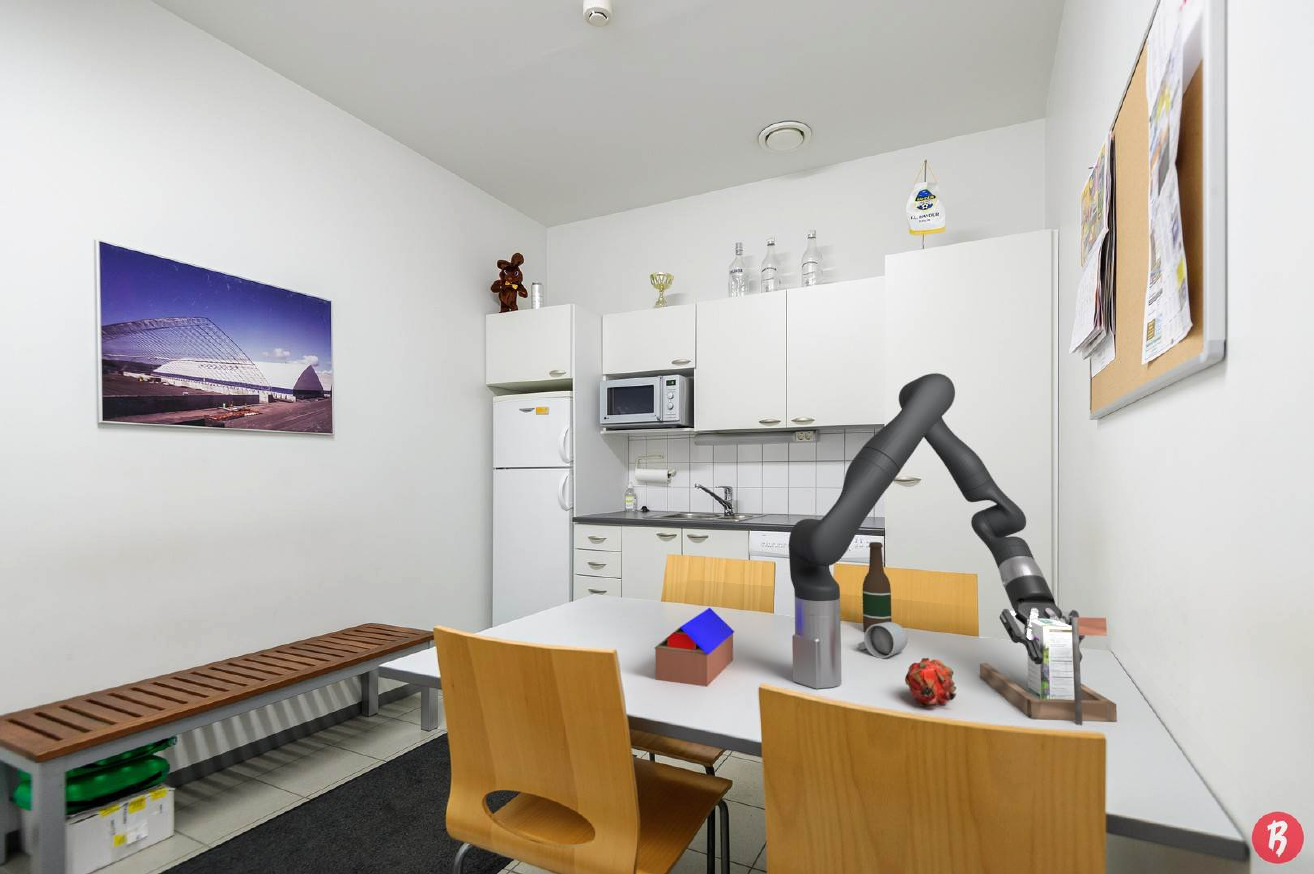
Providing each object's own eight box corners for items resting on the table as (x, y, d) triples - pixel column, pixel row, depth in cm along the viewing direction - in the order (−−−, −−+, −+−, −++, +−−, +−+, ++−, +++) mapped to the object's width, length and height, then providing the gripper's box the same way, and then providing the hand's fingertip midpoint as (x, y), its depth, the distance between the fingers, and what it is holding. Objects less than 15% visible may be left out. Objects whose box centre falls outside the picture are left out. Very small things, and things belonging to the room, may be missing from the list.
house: (653, 680, 132) (653, 624, 132) (686, 654, 150) (685, 605, 151) (708, 688, 127) (707, 629, 128) (734, 660, 145) (734, 609, 146)
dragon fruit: (939, 700, 124) (932, 731, 113) (900, 670, 127) (890, 697, 116) (966, 670, 121) (961, 699, 110) (926, 640, 124) (918, 666, 113)
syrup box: (1027, 695, 120) (1024, 617, 120) (1058, 695, 119) (1055, 617, 120) (1044, 706, 114) (1041, 625, 115) (1077, 706, 114) (1074, 625, 114)
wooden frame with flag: (980, 677, 132) (977, 591, 133) (1050, 679, 131) (1047, 592, 132) (1037, 723, 108) (1033, 617, 109) (1124, 726, 107) (1119, 618, 108)
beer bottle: (897, 631, 170) (895, 542, 171) (885, 637, 164) (883, 544, 166) (869, 627, 175) (868, 540, 176) (857, 632, 170) (855, 542, 171)
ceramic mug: (910, 654, 150) (908, 621, 150) (895, 661, 144) (893, 627, 144) (867, 646, 157) (866, 614, 158) (852, 653, 151) (850, 620, 152)
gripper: (992, 572, 125) (1023, 651, 113) (1069, 573, 124) (1109, 653, 111) (982, 594, 130) (1010, 671, 118) (1056, 595, 129) (1092, 674, 116)
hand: (1058, 662), depth 114 cm, fingers closed on syrup box, 6 cm apart
